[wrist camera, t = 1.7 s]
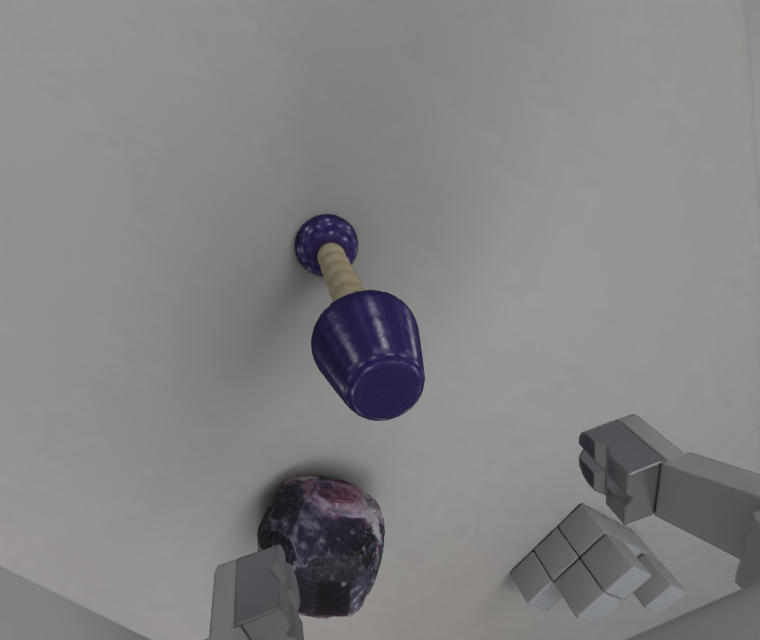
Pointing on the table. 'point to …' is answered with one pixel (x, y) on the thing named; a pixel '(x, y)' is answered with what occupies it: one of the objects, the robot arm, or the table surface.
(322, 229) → the toy lamp
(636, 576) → the grey stepped block
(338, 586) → the mineral specimen
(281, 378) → the table surface
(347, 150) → the table surface
